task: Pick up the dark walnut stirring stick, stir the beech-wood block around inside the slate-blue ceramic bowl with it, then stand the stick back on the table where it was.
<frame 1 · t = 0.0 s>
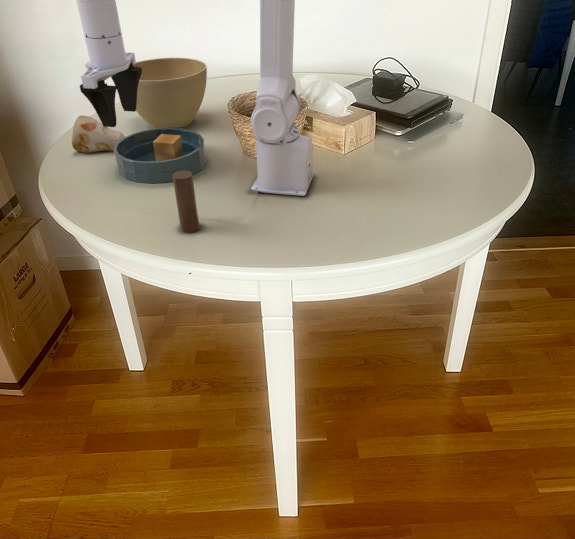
hand: (120, 118, 92), 10 cm above the table, tool pointing down, fingers open, 7 cm apart
flower pot: (171, 125, 117), on the table
block: (170, 158, 101), point 1 cm above the table, touching bowl
bowl: (163, 166, 99), on the table
cream tapered piece: (103, 151, 106), on the table
stick: (190, 228, 81), on the table
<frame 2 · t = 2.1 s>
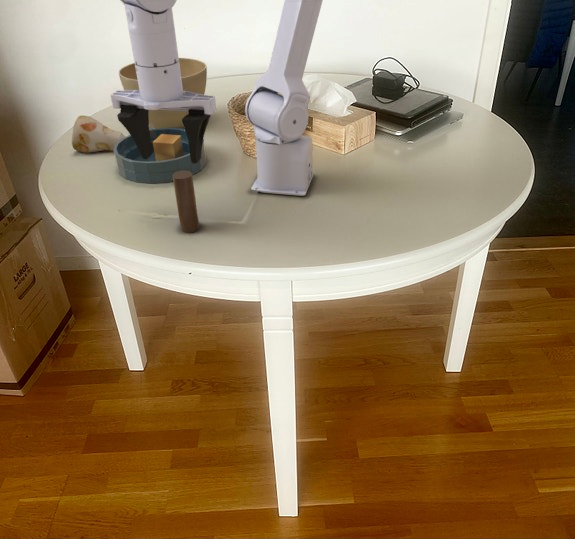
hand: (171, 158, 77), 10 cm above the table, tool pointing down, fingers open, 7 cm apart
nothing on the table moved.
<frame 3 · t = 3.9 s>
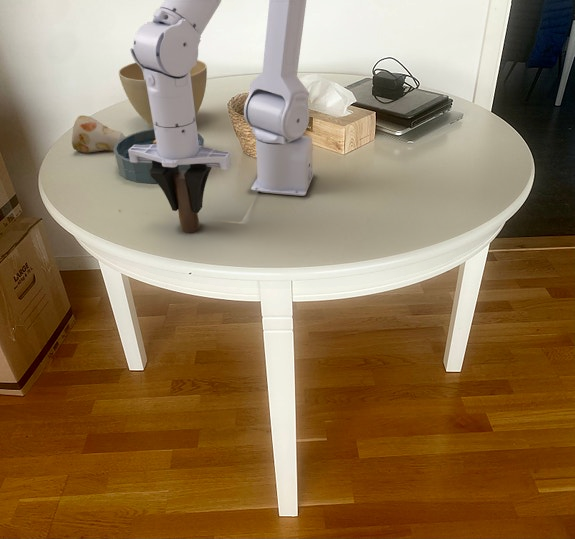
hand: (187, 208, 79), 3 cm above the table, tool pointing down, fingers closed on stick, 3 cm apart
stick: (190, 228, 81), on the table, touching gripper
everything else where it was.
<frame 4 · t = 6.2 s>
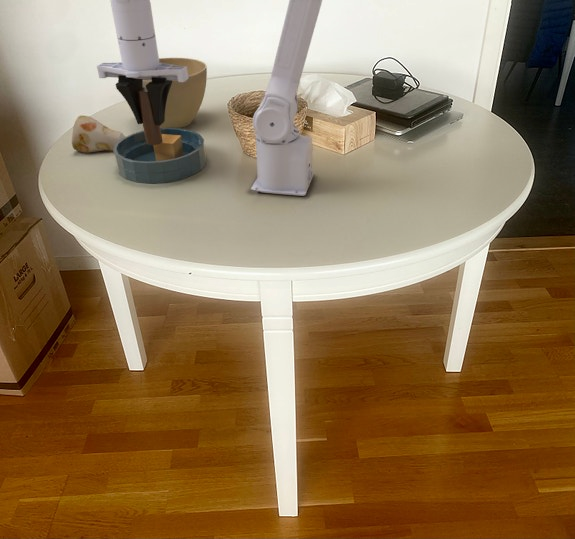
hand: (151, 122, 89), 10 cm above the table, tool pointing down, fingers closed on stick, 3 cm apart
stick: (154, 142, 91), point 7 cm above the table, touching gripper
everything else where it was.
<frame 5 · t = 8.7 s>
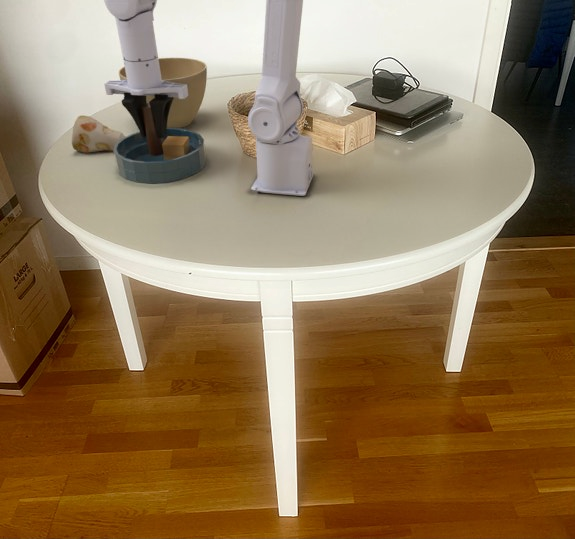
hand: (154, 135, 96), 6 cm above the table, tool pointing down, fingers closed on stick, 3 cm apart
block: (178, 160, 100), point 1 cm above the table, touching bowl
stick: (157, 153, 98), point 3 cm above the table, touching gripper
everything else where it was.
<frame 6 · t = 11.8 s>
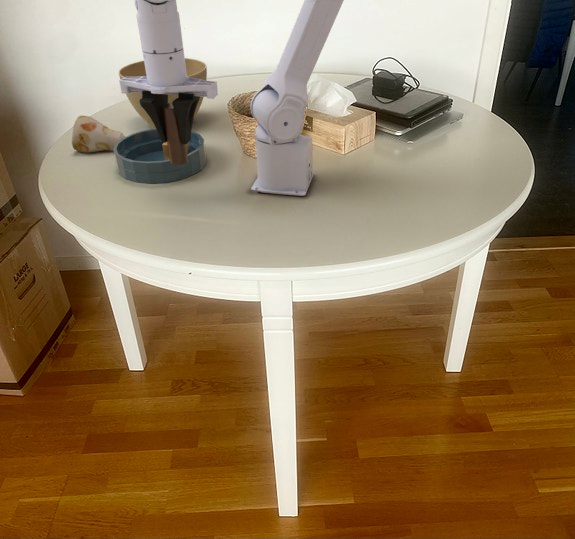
hand: (176, 141, 82), 10 cm above the table, tool pointing down, fingers closed on stick, 3 cm apart
stick: (179, 161, 84), point 7 cm above the table, touching gripper
everything else where it was.
when the fingers open (3 cm above the table, at t = 14.5 s): stick stays where it is, on the table.
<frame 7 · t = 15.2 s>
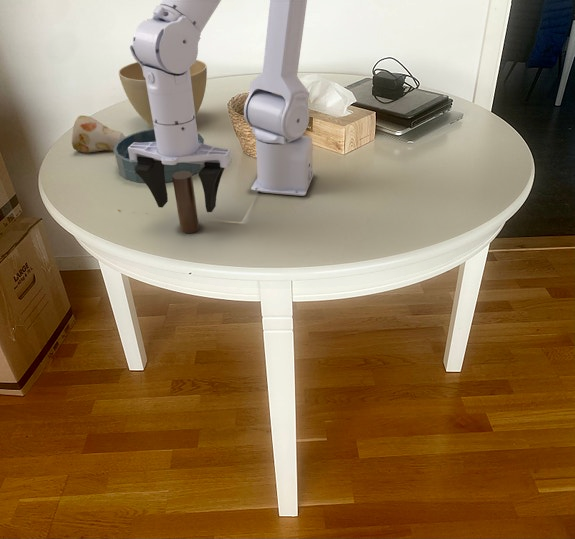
hand: (187, 206, 79), 4 cm above the table, tool pointing down, fingers open, 7 cm apart
stick: (189, 228, 81), on the table
everything else where it was.
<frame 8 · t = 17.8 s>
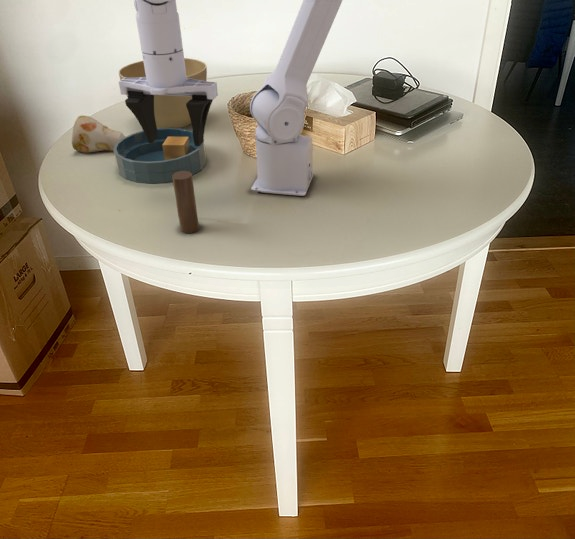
hand: (175, 142, 82), 10 cm above the table, tool pointing down, fingers open, 7 cm apart
nothing on the table moved.
at the end: block moved 2.1 cm from its start; block inside the target area in the bowl (3.1 cm from its centre), point 0.6 cm above the bowl's base; stick tilted 0° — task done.
